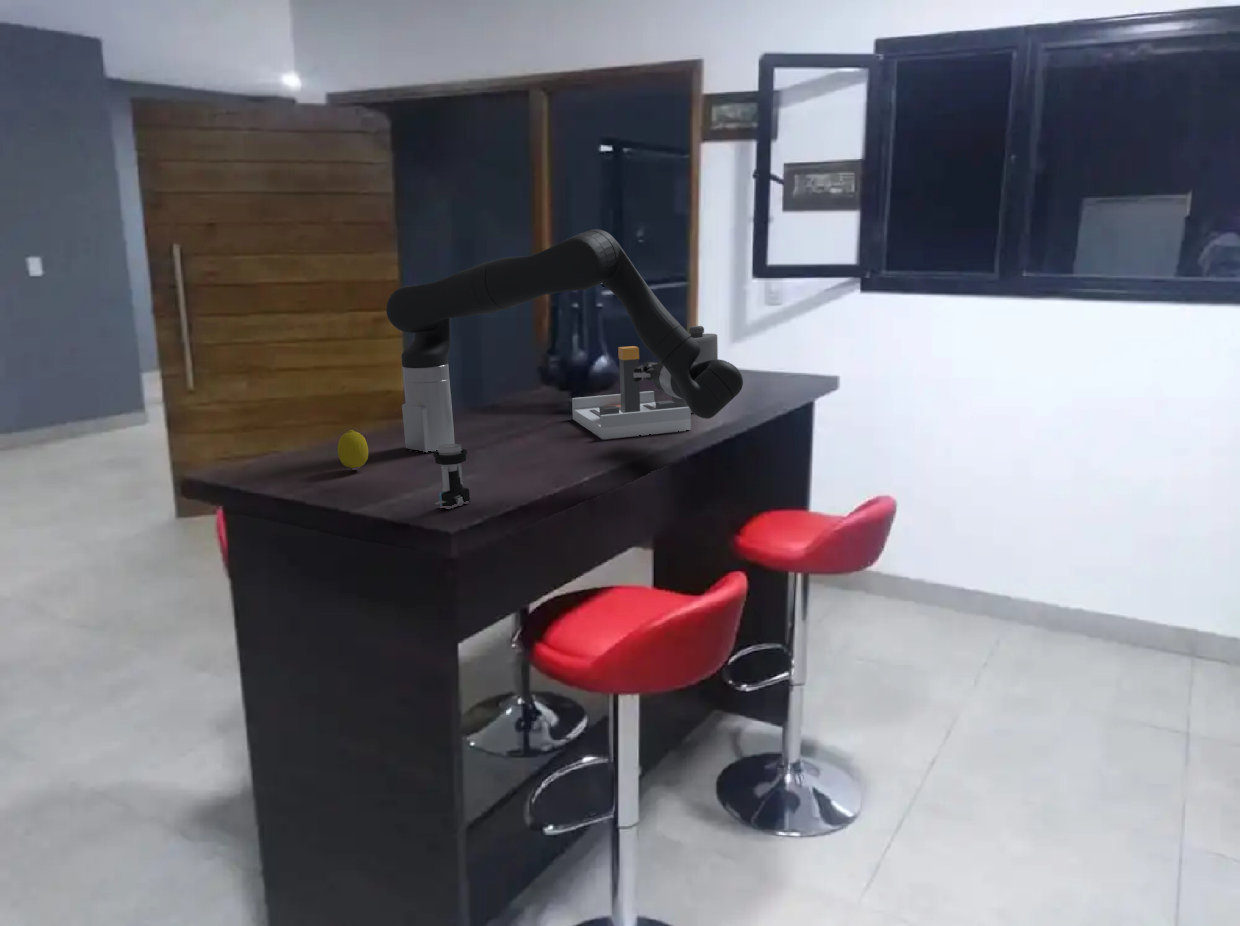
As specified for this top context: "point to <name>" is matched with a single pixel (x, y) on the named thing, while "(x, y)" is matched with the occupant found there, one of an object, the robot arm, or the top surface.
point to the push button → (451, 474)
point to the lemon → (352, 449)
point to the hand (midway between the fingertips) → (648, 367)
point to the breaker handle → (629, 379)
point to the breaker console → (629, 416)
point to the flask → (701, 353)
